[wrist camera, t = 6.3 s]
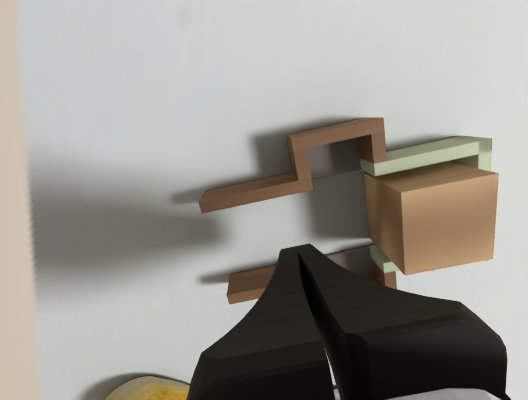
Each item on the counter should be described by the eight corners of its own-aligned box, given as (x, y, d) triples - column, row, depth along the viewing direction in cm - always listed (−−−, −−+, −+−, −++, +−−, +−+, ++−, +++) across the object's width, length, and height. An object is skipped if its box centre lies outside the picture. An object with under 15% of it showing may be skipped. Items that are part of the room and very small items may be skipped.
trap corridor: (459, 264, 17) (486, 284, 15) (240, 309, 17) (238, 333, 15) (460, 96, 14) (493, 93, 12) (195, 155, 14) (186, 161, 12)
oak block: (435, 224, 16) (492, 258, 12) (369, 237, 16) (404, 275, 12) (435, 158, 15) (498, 173, 11) (363, 173, 15) (401, 192, 11)
